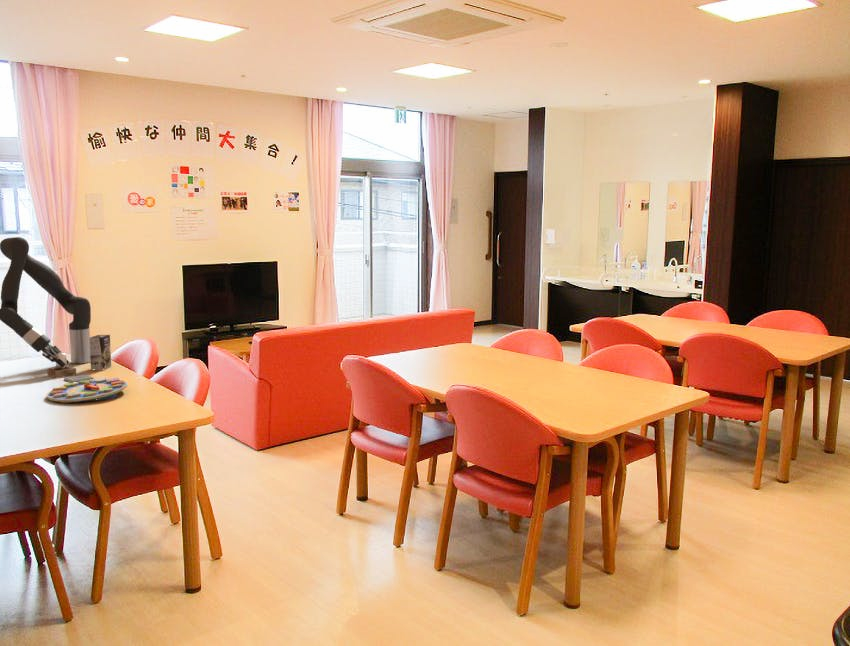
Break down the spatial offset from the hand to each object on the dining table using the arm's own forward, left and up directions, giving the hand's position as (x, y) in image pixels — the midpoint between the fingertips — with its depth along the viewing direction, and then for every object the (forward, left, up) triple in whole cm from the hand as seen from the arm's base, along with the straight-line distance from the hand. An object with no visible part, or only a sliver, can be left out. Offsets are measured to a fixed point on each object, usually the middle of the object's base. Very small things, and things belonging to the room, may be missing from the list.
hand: (65, 364), depth 337 cm
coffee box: (-18, -1, -5) cm, 18 cm away
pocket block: (+1, -1, -5) cm, 5 cm away
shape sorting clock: (+12, +45, -5) cm, 47 cm away
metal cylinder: (+1, -1, -5) cm, 5 cm away
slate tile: (+1, +15, -5) cm, 16 cm away
